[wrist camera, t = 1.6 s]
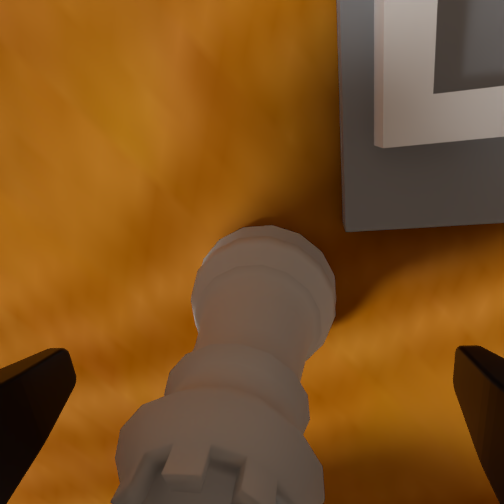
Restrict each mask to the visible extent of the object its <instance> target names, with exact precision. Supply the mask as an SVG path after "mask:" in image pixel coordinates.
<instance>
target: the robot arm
mask: <svg viewBox="0 0 504 504" xmlns="http://www.w3.org/2000/svg"><path fill="white" fill-rule="evenodd" d="M75 383H76V374H75V371H74V367H73V364H72V361H71V357H70V354H69V352H68V351H67V350H66V349H64V348H50V349H46V350H44V351H42V352H39V353H37V354H35V355H32V356H30V357H28V358H25V359H23V360H20V361H18V362H16V363H13V364H11V365H9V366H6V367H4V368H2V369H0V504H7V502H8V500H9V499H10V497H11V496H12V494H13V493H14V491H15V489H16V488H17V486H18V485H19V483H20V482H21V480H22V478H23V477H24V475H25V474H26V472H27V471H28V469H29V467H30V466H31V464H32V463H33V461H34V460H35V458H36V456H37V455H38V453H39V452H40V450H41V448H42V447H43V445H44V443H45V442H46V440H47V438H48V436H49V434H50V432H51V431H52V429H53V427H54V425H55V423H56V421H57V419H58V417H59V415H60V413H61V411H62V410H63V408H64V406H65V404H66V402H67V400H68V398H69V396H70V394H71V392H72V390H73V388H74V386H75ZM453 384H454V389H455V393H456V396H457V398H458V401H459V404H460V407H461V410H462V413H463V415H464V418H465V421H466V424H467V427H468V429H469V432H470V435H471V438H472V441H473V444H474V446H475V449H476V452H477V455H478V457H479V460H480V462H481V465H482V467H483V469H484V471H485V474H486V476H487V478H488V480H489V482H490V484H491V486H492V488H493V490H494V492H495V494H496V497H497V499H498V501H499V503H500V504H504V358H502V357H500V356H498V355H496V354H495V353H493V352H491V351H489V350H487V349H485V348H483V347H481V346H477V345H475V346H459V347H457V349H456V352H455V362H454V375H453Z"/></svg>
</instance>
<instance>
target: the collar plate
mask: <svg viewBox="0 0 504 504" xmlns="http://www.w3.org/2000/svg"><path fill="white" fill-rule="evenodd" d="M337 34H338V70H339V106H340V142H341V178H342V214H343V225H344V228H345V231H346V232H358V231H374V230H391V229H408V228H425V227H442V226H458V225H475V224H492V223H504V0H337Z"/></svg>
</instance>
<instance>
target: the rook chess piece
mask: <svg viewBox="0 0 504 504" xmlns="http://www.w3.org/2000/svg"><path fill="white" fill-rule="evenodd" d="M191 303H192V308H193V314H194V319H195V324H196V327H197V330H198V337H197V341H196V345H195V348H194V349H193V351H192V352H191V353H188V354H186V355H185V356H184V357H183V358H182V359H181V360H180V361H179V362H178V364H177V365H176V366H175V367H174V368H173V369H172V370H171V371H170V373H169V377H168V381H167V385H166V389H165V394H164V395H165V396H164V397H162V398H159V399H157V400H154V401H151V402H149V403H146V404H144V405H142V406H141V407H140V408H139V409H138V410H137V411H136V412H135V413H134V415H133V416H132V417H131V418H130V419H129V420H128V421H127V422H126V424H125V425H124V426H123V427H122V428H121V430H120V435H119V440H118V445H117V451H116V456H115V460H116V465H117V470H118V475H119V480H120V485H119V487H118V489H117V491H116V493H115V495H114V497H113V498H112V500H111V503H112V504H323V503H324V501H325V492H324V479H323V467H322V465H321V463H320V462H319V460H318V459H317V457H316V455H315V454H314V452H313V450H312V449H311V447H310V446H309V444H308V442H307V441H306V439H305V437H304V436H303V434H304V431H305V429H306V427H307V425H308V422H309V420H310V417H309V405H308V395H307V393H306V392H305V390H304V388H303V387H302V385H301V383H300V380H301V376H302V372H303V368H304V364H305V361H306V360H307V359H309V358H310V357H311V356H312V355H313V354H314V352H315V351H317V350H318V349H319V348H320V347H321V346H322V345H323V344H324V342H325V339H326V337H327V335H328V332H329V330H330V328H331V325H332V323H333V320H334V318H335V316H336V313H335V303H336V290H335V276H334V274H333V272H332V270H331V268H330V266H329V264H328V262H327V260H326V258H325V257H324V255H323V253H322V252H321V251H320V250H319V249H318V248H317V247H315V246H314V245H313V244H312V243H310V242H309V241H308V240H307V239H306V238H304V237H303V236H302V235H301V234H299V233H295V232H292V231H289V230H286V229H283V228H279V227H276V226H273V225H268V226H255V227H243V228H241V229H239V230H237V231H235V232H233V233H231V234H230V235H228V236H226V237H224V238H222V239H220V240H219V241H218V242H217V243H216V245H215V246H214V247H213V248H212V250H211V251H210V252H209V253H208V255H207V256H206V257H205V258H204V260H203V264H202V266H201V267H200V269H199V270H198V271H197V275H196V280H195V284H194V288H193V292H192V298H191Z"/></svg>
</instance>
